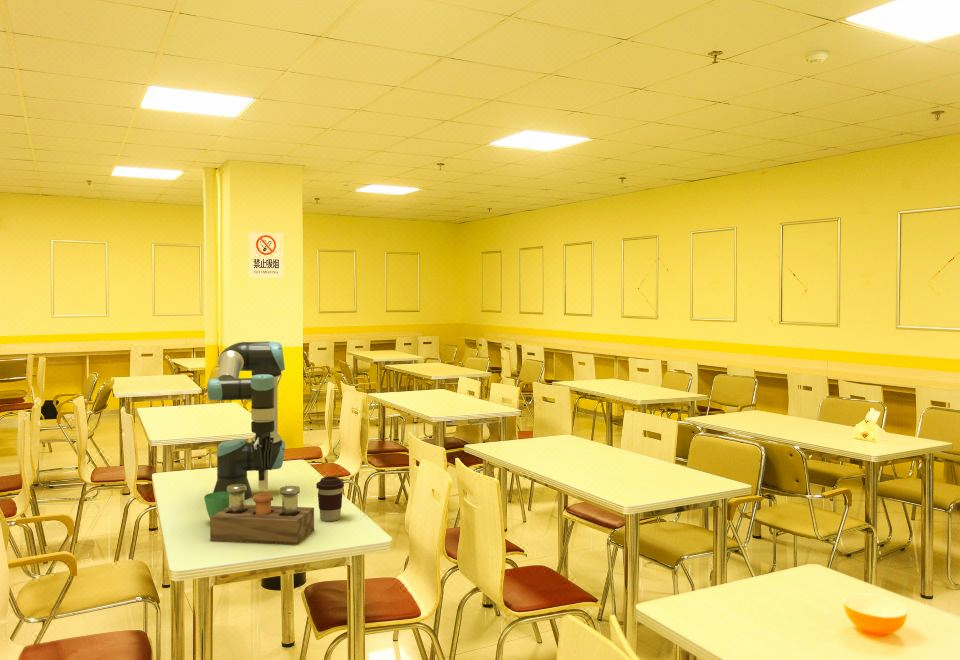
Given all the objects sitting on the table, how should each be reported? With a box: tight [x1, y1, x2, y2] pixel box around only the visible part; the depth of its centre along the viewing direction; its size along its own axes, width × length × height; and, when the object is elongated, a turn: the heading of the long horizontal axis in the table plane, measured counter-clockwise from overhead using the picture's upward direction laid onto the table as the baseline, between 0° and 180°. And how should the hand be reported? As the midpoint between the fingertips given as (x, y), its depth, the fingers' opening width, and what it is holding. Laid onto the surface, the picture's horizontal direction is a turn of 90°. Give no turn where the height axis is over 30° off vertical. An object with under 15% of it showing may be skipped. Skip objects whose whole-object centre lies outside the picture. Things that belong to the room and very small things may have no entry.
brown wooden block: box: [209, 504, 315, 546], centre depth 246 cm, size 16×30×8 cm, turn 83°
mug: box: [203, 492, 229, 519], centre depth 262 cm, size 15×10×10 cm
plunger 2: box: [279, 485, 301, 516], centre depth 244 cm, size 6×6×11 cm
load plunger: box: [252, 492, 274, 515], centre depth 246 cm, size 6×6×11 cm
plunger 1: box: [227, 484, 247, 514], centre depth 247 cm, size 6×6×11 cm
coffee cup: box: [315, 476, 345, 522], centre depth 265 cm, size 10×10×15 cm
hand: (263, 489), depth 246 cm, fingers closed
